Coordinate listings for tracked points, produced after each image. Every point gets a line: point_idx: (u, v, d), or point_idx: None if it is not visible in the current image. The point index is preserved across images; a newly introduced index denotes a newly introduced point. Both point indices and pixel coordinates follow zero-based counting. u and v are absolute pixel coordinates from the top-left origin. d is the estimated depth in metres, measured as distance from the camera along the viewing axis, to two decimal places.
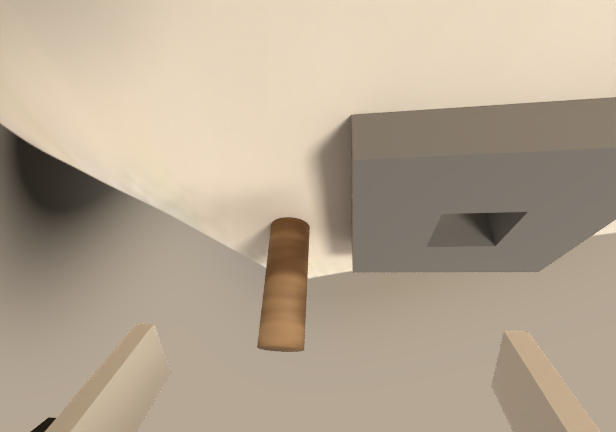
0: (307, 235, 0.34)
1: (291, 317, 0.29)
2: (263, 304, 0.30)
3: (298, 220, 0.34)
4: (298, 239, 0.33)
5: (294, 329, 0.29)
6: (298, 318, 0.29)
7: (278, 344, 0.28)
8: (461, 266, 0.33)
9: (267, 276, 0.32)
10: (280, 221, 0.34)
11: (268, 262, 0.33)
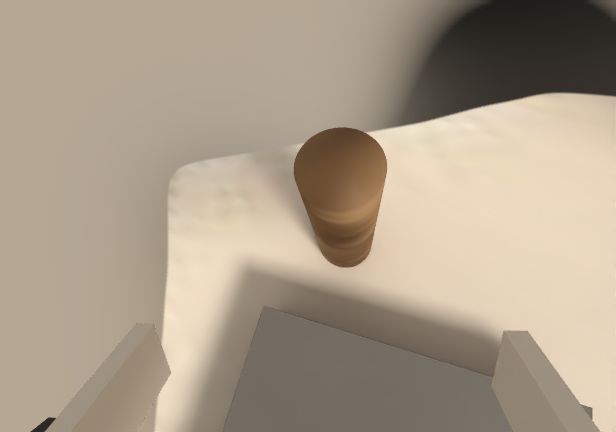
0: (345, 263, 0.25)
1: (370, 215, 0.16)
2: None
3: (363, 260, 0.26)
4: (362, 255, 0.24)
5: (364, 213, 0.15)
6: (356, 224, 0.16)
7: (383, 180, 0.14)
8: None
9: None
10: None
11: None
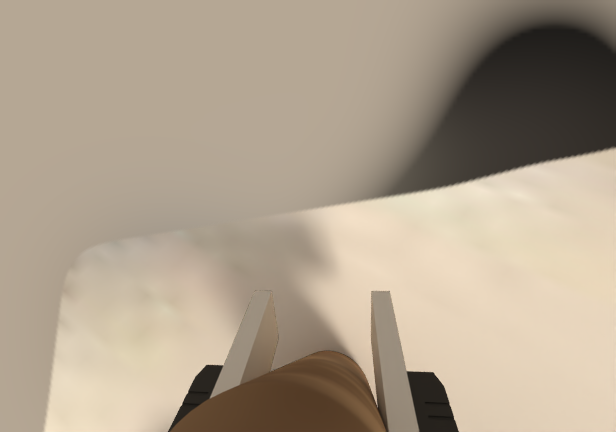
0: None
1: None
2: (367, 398, 0.08)
3: None
4: None
5: None
6: None
7: None
8: None
9: (368, 390, 0.11)
10: None
11: (363, 380, 0.12)
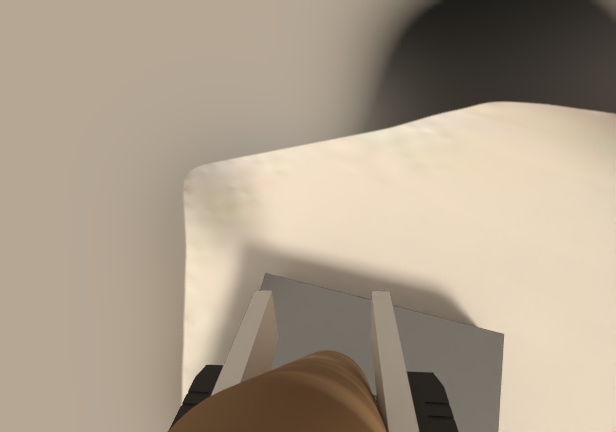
0: None
1: None
2: (367, 397, 0.08)
3: None
4: None
5: None
6: None
7: None
8: None
9: (368, 389, 0.11)
10: None
11: (363, 379, 0.12)
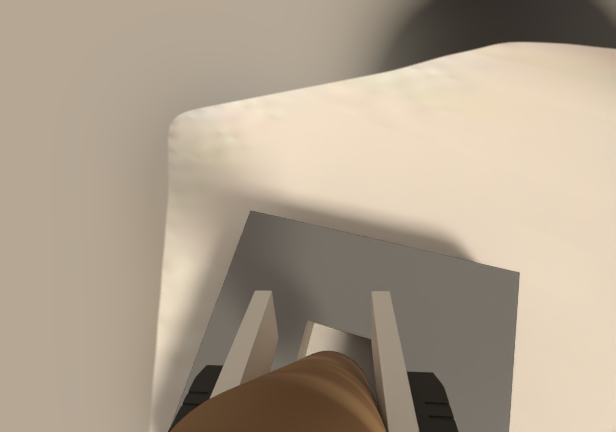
0: None
1: None
2: (367, 398, 0.08)
3: None
4: None
5: None
6: None
7: None
8: None
9: (368, 390, 0.11)
10: None
11: (363, 380, 0.12)
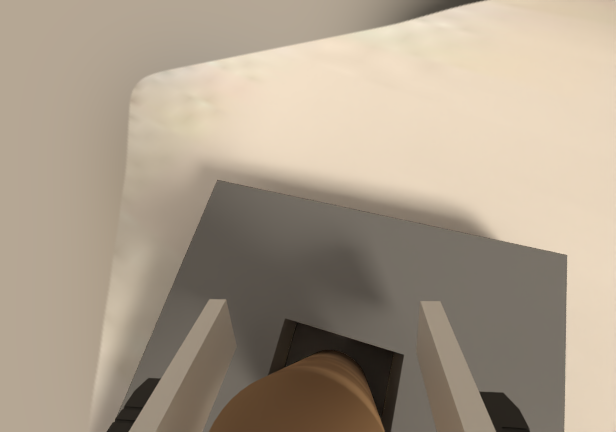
0: None
1: None
2: (363, 387, 0.10)
3: None
4: None
5: None
6: None
7: None
8: None
9: (365, 382, 0.13)
10: None
11: (361, 374, 0.14)
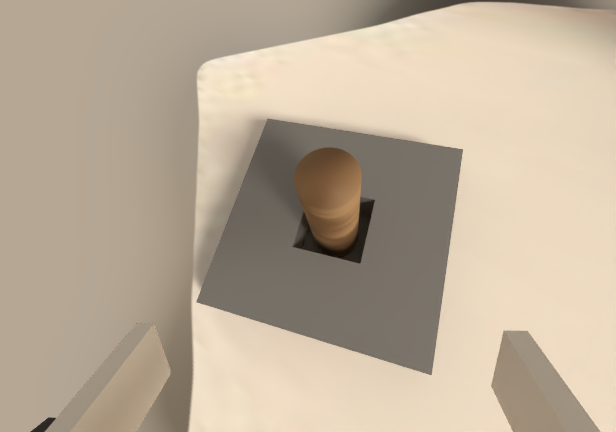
0: (335, 253, 0.30)
1: (351, 212, 0.22)
2: None
3: (350, 251, 0.31)
4: (349, 246, 0.29)
5: (346, 210, 0.21)
6: (341, 219, 0.22)
7: (359, 186, 0.20)
8: (246, 219, 0.30)
9: None
10: None
11: None
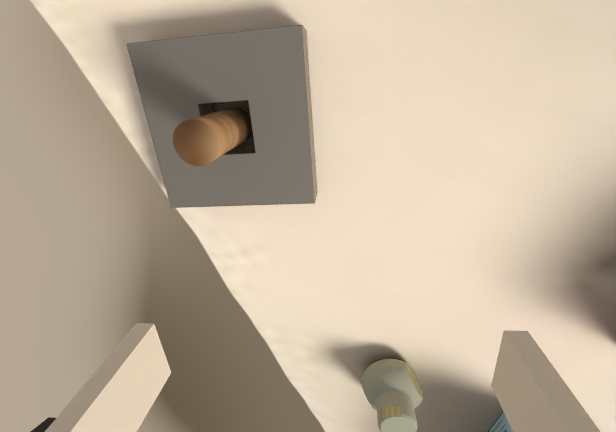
0: None
1: (224, 149, 0.32)
2: (218, 118, 0.32)
3: (251, 133, 0.41)
4: (246, 137, 0.40)
5: (219, 154, 0.31)
6: None
7: (217, 144, 0.29)
8: (167, 145, 0.39)
9: (229, 116, 0.35)
10: None
11: (232, 114, 0.36)
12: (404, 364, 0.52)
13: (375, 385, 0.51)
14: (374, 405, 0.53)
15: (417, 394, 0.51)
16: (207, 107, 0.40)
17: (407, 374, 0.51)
